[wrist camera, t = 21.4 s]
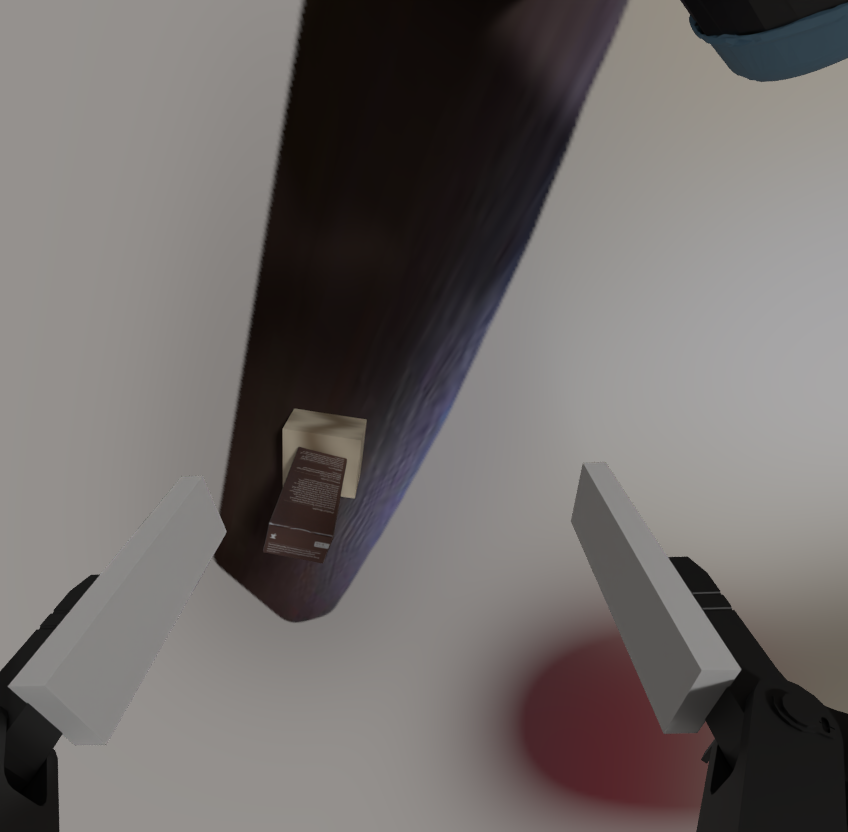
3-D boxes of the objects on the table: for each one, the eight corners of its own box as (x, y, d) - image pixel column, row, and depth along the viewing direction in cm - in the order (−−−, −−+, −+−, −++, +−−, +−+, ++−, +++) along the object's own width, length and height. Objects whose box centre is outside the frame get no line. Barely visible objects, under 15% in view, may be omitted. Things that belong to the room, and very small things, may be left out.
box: (291, 474, 47) (260, 553, 37) (298, 444, 45) (268, 520, 35) (340, 486, 49) (323, 566, 38) (349, 457, 47) (334, 534, 36)
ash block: (367, 418, 50) (361, 440, 45) (360, 473, 54) (354, 498, 50) (294, 407, 49) (282, 428, 45) (294, 464, 53) (282, 488, 49)
